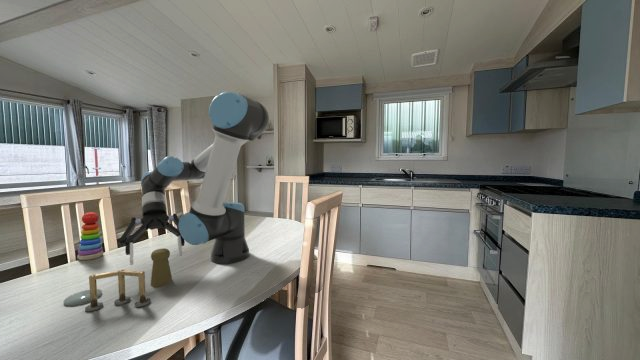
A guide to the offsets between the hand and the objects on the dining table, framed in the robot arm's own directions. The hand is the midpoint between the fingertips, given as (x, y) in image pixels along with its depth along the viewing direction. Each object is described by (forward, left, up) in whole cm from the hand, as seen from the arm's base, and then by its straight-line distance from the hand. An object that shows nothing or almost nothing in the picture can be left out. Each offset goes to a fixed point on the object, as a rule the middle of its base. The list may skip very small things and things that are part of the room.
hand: (157, 258), depth 81 cm
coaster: (+18, +2, -8) cm, 20 cm away
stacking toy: (+25, -38, -8) cm, 46 cm away
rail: (+8, +12, -8) cm, 17 cm away
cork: (-1, +2, -8) cm, 8 cm away
